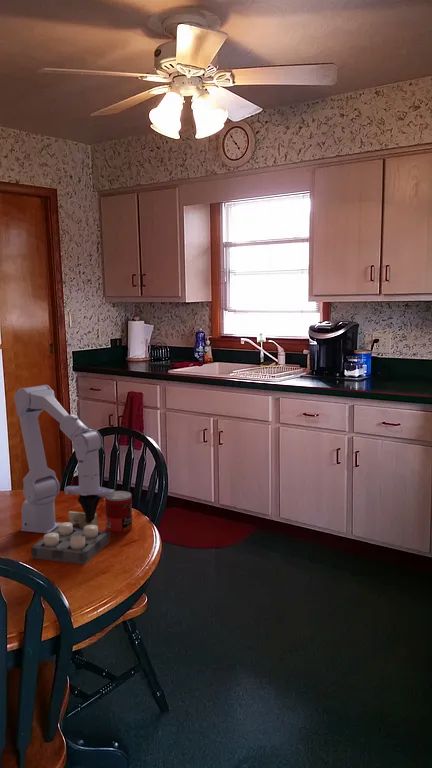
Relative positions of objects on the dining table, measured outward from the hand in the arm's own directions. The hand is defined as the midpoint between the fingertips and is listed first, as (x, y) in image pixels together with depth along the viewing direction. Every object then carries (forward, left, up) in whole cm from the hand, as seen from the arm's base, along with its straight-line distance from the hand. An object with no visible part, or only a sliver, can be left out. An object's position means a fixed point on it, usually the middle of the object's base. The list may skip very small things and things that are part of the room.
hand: (90, 519), depth 175 cm
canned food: (+3, +13, -8) cm, 15 cm away
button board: (-4, -4, -8) cm, 10 cm away
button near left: (-8, -8, -5) cm, 12 cm away
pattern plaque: (-6, +7, -8) cm, 12 cm away
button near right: (0, -8, -5) cm, 9 cm away
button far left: (-8, 0, -5) cm, 10 cm away
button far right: (0, 0, -5) cm, 5 cm away
